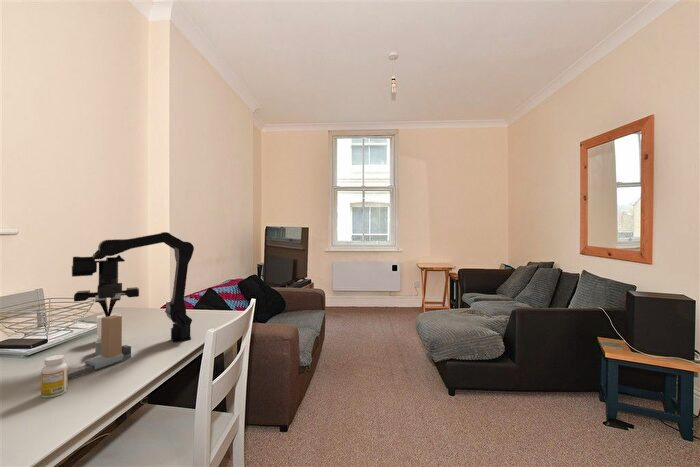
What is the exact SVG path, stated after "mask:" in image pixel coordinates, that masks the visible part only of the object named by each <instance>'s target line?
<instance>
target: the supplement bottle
mask: <svg viewBox="0 0 700 467" xmlns="http://www.w3.org/2000/svg"><path fill="white" fill-rule="evenodd" d="M68 368H69V367H68V364H67V363H66V362H65V355H64V354H58V355H55V354H54V355H52V356H48V357H45V358H44V366H42V368H41V370H40V397H41V398H44V399H49V398H54V397H58V396H62V395H63V394H65V393H66V392H68V390H69V389H68V386H69V385H68V381H69V379H68Z"/></svg>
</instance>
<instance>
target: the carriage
mask: <svg viewBox="0 0 700 467" xmlns="http://www.w3.org/2000/svg"><path fill="white" fill-rule="evenodd" d="M122 319H123V316H116V315H112V316H108V317H103V318H101V355H100V356H97V357H95V356H94V357H90V358H87V359H85V360H84V365H87V364H89V365H93V366H94V369H97V368H100V367H103V366H106V365H109V364H112V363H115V362H117V361H120V360H123V354H122V346H123V345H122V344H123V342H122V341H123V340H122V339H123V338H122V337H123V336H122V335H123V333H122V331H123V329H122V328H123V325H122V324H123V320H122ZM123 361H124V360H123ZM120 362H121V361H120ZM117 363H118V362H117ZM115 364H116V363H115ZM112 365H113V364H112ZM109 366H110V365H109ZM106 367H107V366H106ZM103 368H104V367H103ZM100 369H101V368H100ZM97 370H98V369H97Z"/></svg>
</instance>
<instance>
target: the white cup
mask: <svg viewBox="0 0 700 467" xmlns="http://www.w3.org/2000/svg"><path fill="white" fill-rule="evenodd" d="M112 315H116V316H121V315H122V314H121V313H118V312H111V315H110V316H112ZM103 317H106V315H105V313H103V314H99V315H97V316H96V329H97V330H96V331H97V338H100V337H101V318H103Z"/></svg>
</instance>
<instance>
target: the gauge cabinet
mask: <svg viewBox="0 0 700 467" xmlns="http://www.w3.org/2000/svg"><path fill="white" fill-rule="evenodd" d="M94 344H95V345H94V346H95V350H94V351H95V352H94V353H95V356H94V357H97V356H100V355H101V337H100V338H98V337H97V338H96V340H95V343H94Z"/></svg>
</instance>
